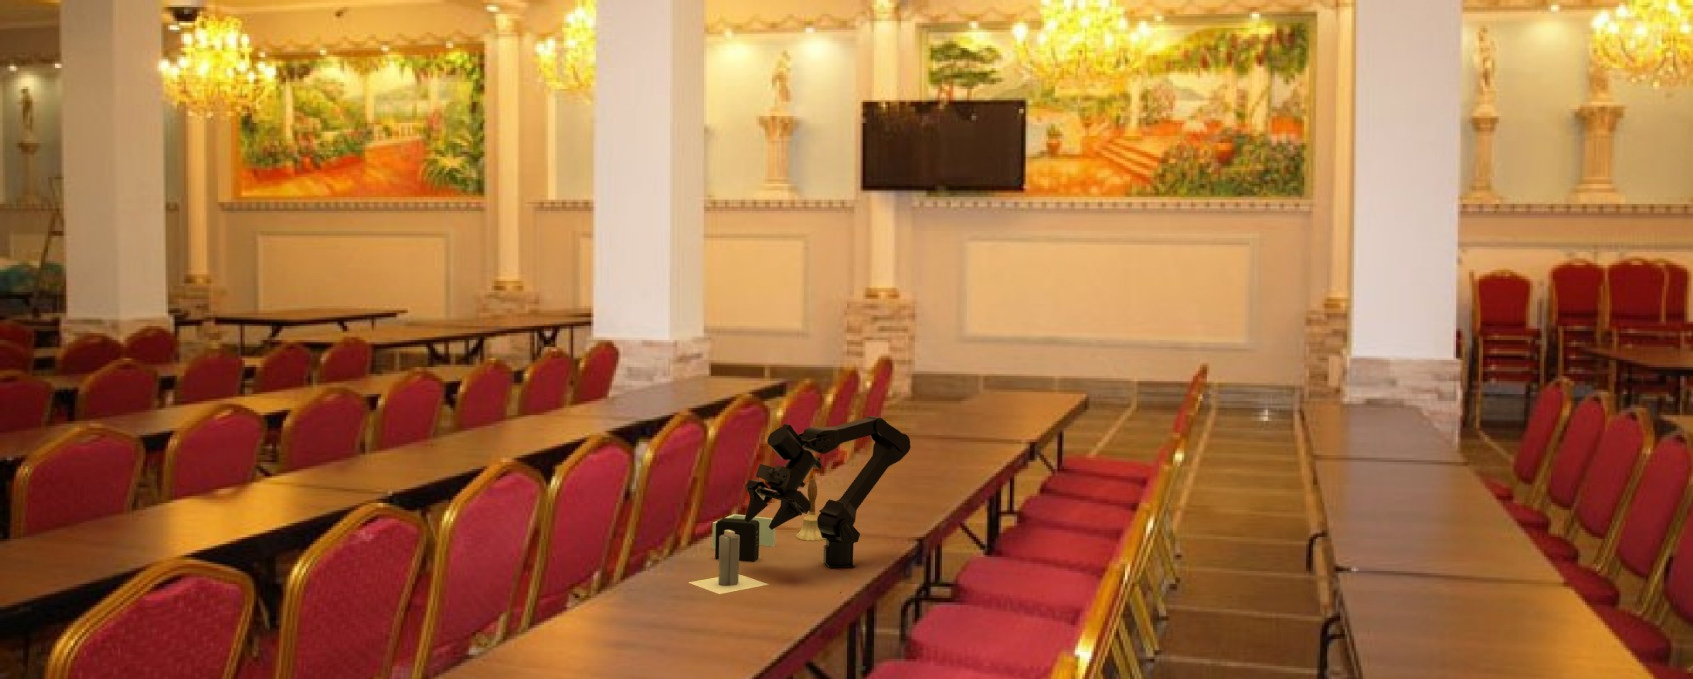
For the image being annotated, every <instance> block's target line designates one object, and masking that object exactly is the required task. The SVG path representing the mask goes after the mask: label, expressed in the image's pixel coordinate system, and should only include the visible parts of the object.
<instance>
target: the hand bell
mask: <svg viewBox="0 0 1693 679" xmlns="http://www.w3.org/2000/svg"><path fill="white" fill-rule="evenodd" d="M807 497H808V498H807V499H808V500H809V501H810V502H811V508H810V510H809V511H808V514H807V516H806V515H805V516H804V517H803V522H802V526H801V529H800V531H799V532H798V533H797V534H796V535H795V538H796V539H798V540H800V541H804V542H805V541H806V542H818V541H819V542H820V541H824V540H825V541H826V538H822V536H821V533H820V530H819V528H818V525H817V523H818V521H817V518H818V516H819V515H818V516H817V515H816V500H817V498H818V485H817V482H816V478H814V477H813V478H809V482H808V484H807Z"/></svg>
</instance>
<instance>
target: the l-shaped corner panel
mask: <svg viewBox="0 0 1693 679" xmlns="http://www.w3.org/2000/svg"><path fill="white" fill-rule="evenodd" d="M745 516H746V514H736V513H734V514H731V515H728V516H726V517H725V518H733V519H745ZM773 518H774V517H773ZM773 518H772V517H764V516H762V517H761V516H755V517H754V518H753V519H752V520H757V521H758V522H759V546H767V547H775V546H776V528H774V529H773V530H771V529H770V528H769V525H770V523H771V521H772V519H773ZM717 521H718V520H716V521H713V522H712V534H711V535H712V538H711V539H712V544H711V545H712V546H711V550H712V551H715V540H716V523H717Z"/></svg>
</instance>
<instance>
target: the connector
mask: <svg viewBox="0 0 1693 679" xmlns="http://www.w3.org/2000/svg"><path fill="white" fill-rule="evenodd" d="M739 540H740V535H737V534H735V532H734V531H731V530H724V535H721V536H719V559H718V576H717V577H718V584H719V585H721V586H733V585H737V584H738V583H739V574H740V561H739Z"/></svg>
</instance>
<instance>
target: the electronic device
mask: <svg viewBox="0 0 1693 679" xmlns="http://www.w3.org/2000/svg"><path fill="white" fill-rule="evenodd" d="M716 521H717V523H716V540H715V550H714V551H715V552H714V553H715V554H714V557H715V560H719V536H721V535H724V530H731V531H734V532H735V534H737V535H740V540H739V562H750V563H755V562H756V561H757V560H758V559H759V555H760V554H759V553H760V545H759V522H758V521H757V520H750V521H749V522H746V521H745V520H744V519H733V518H726V517H723V518H719V519H718V520H716Z"/></svg>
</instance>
